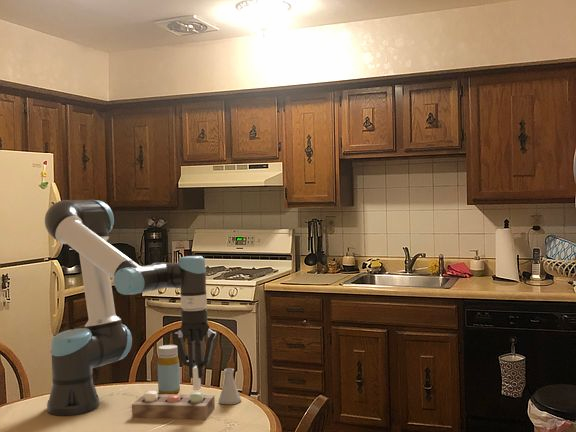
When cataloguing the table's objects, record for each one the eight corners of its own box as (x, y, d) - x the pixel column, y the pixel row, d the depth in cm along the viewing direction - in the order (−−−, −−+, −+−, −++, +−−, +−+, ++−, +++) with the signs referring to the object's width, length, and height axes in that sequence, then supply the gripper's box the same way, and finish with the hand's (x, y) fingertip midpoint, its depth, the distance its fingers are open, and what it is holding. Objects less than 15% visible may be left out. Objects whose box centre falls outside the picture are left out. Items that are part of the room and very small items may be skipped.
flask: (237, 405, 188) (236, 373, 188) (215, 404, 190) (214, 372, 190) (244, 398, 196) (243, 367, 195) (222, 397, 197) (221, 366, 197)
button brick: (165, 410, 181) (165, 398, 181) (170, 406, 185) (169, 394, 185) (178, 410, 181) (177, 398, 181) (182, 406, 184) (181, 394, 184)
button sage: (188, 407, 180) (188, 395, 180) (192, 403, 184) (192, 391, 184) (201, 407, 180) (200, 395, 180) (204, 403, 183) (204, 392, 183)
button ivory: (142, 406, 182) (142, 394, 182) (147, 402, 186) (147, 390, 186) (155, 406, 182) (154, 394, 182) (159, 402, 186) (159, 391, 185)
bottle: (177, 395, 201) (176, 349, 200) (156, 395, 201) (155, 349, 200) (181, 388, 208) (180, 344, 207) (161, 389, 208) (159, 344, 207)
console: (132, 417, 180) (131, 404, 180) (145, 406, 189) (144, 393, 189) (205, 420, 176) (205, 406, 176) (214, 408, 186) (214, 395, 186)
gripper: (168, 311, 179) (171, 392, 179) (212, 310, 177) (215, 392, 177) (176, 307, 186) (180, 385, 186) (218, 306, 184) (222, 385, 184)
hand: (197, 388), depth 182 cm, fingers closed
